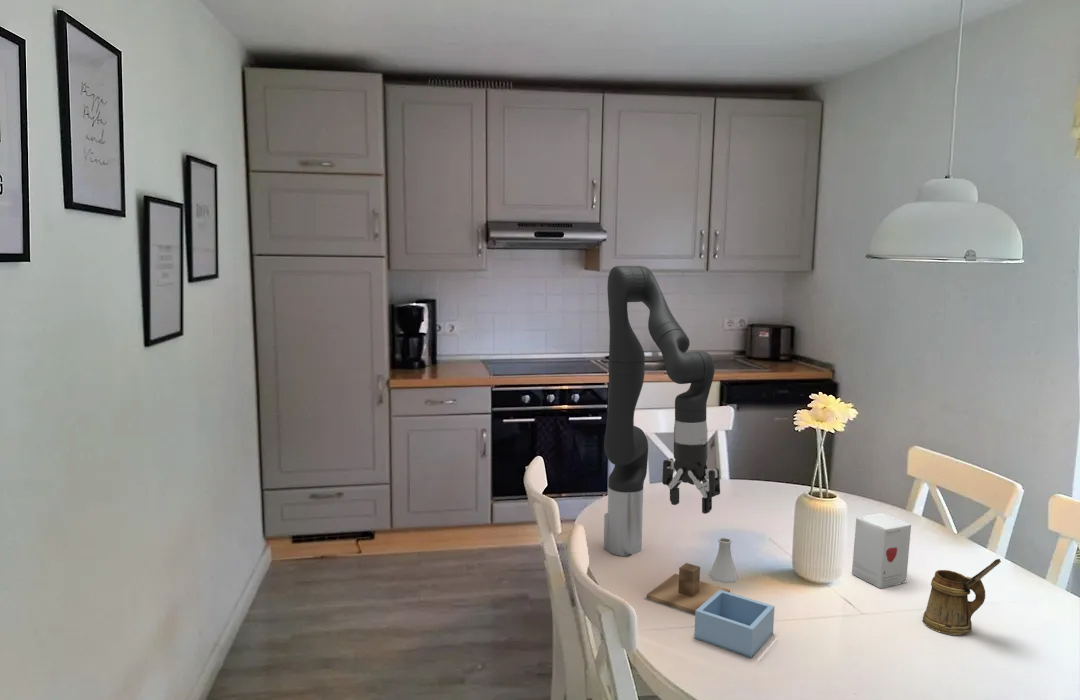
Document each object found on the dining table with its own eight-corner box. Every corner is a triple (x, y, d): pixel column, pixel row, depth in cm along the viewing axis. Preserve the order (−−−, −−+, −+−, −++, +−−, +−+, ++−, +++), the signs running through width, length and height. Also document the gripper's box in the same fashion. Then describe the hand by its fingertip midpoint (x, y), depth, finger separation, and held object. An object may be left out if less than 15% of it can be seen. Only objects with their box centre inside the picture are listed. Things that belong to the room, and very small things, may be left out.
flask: (739, 587, 172) (741, 546, 171) (708, 583, 174) (710, 544, 172) (737, 574, 179) (739, 535, 178) (707, 571, 181) (709, 532, 179)
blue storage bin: (694, 640, 148) (695, 610, 147) (718, 617, 157) (719, 589, 156) (751, 661, 141) (752, 629, 140) (772, 635, 150) (774, 606, 149)
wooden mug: (984, 650, 145) (992, 565, 143) (915, 623, 156) (921, 543, 153) (1001, 636, 151) (1009, 553, 148) (933, 611, 161) (940, 533, 159)
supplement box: (880, 589, 171) (885, 529, 170) (850, 574, 180) (854, 516, 178) (907, 583, 175) (912, 523, 173) (877, 568, 183) (881, 511, 181)
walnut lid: (646, 598, 164) (647, 569, 163) (674, 577, 175) (675, 549, 174) (703, 617, 156) (705, 587, 155) (729, 594, 167) (731, 565, 166)
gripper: (655, 437, 167) (655, 505, 169) (707, 447, 156) (707, 520, 158) (675, 431, 172) (675, 498, 174) (727, 441, 162) (726, 511, 163)
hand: (690, 508), depth 166 cm, fingers open, 8 cm apart
